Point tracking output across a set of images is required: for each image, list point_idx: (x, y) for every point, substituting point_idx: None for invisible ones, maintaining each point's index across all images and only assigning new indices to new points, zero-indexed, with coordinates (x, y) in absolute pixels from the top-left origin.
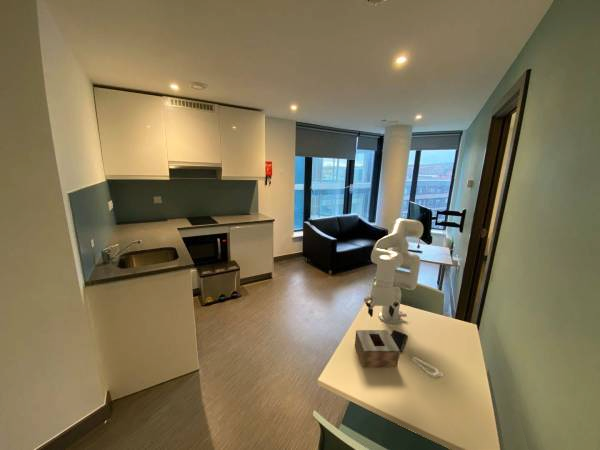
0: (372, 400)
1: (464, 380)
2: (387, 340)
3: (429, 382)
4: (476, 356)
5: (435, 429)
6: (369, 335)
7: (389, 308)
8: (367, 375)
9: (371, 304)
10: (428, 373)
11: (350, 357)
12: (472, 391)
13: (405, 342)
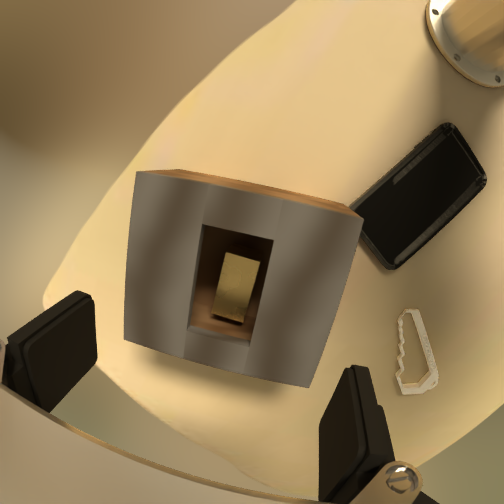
0: (149, 399)
1: (467, 405)
2: (293, 312)
3: None
4: None
5: (266, 475)
6: (198, 241)
7: (350, 426)
8: None
9: (3, 384)
10: (397, 380)
11: None
12: (447, 431)
13: (447, 223)
